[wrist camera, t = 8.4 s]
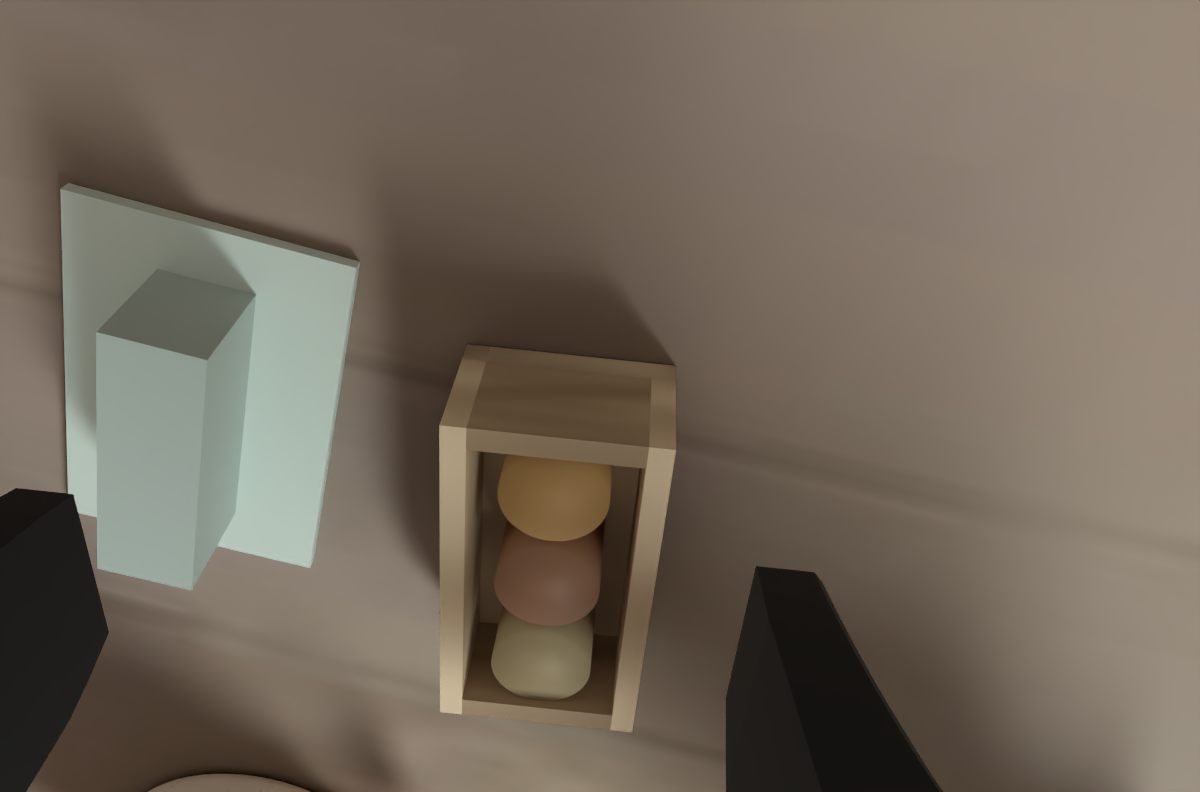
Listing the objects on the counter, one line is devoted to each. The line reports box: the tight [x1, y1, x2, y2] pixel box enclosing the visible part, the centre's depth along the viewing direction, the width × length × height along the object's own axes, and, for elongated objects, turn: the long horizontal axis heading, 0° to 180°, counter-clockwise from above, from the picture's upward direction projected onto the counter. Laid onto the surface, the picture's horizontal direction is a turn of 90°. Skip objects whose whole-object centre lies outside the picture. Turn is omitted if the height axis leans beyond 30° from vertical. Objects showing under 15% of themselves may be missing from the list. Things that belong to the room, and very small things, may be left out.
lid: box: [60, 183, 360, 591], centre depth 21 cm, size 8×6×3 cm
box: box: [439, 344, 676, 732], centre depth 22 cm, size 8×4×3 cm, turn 175°
